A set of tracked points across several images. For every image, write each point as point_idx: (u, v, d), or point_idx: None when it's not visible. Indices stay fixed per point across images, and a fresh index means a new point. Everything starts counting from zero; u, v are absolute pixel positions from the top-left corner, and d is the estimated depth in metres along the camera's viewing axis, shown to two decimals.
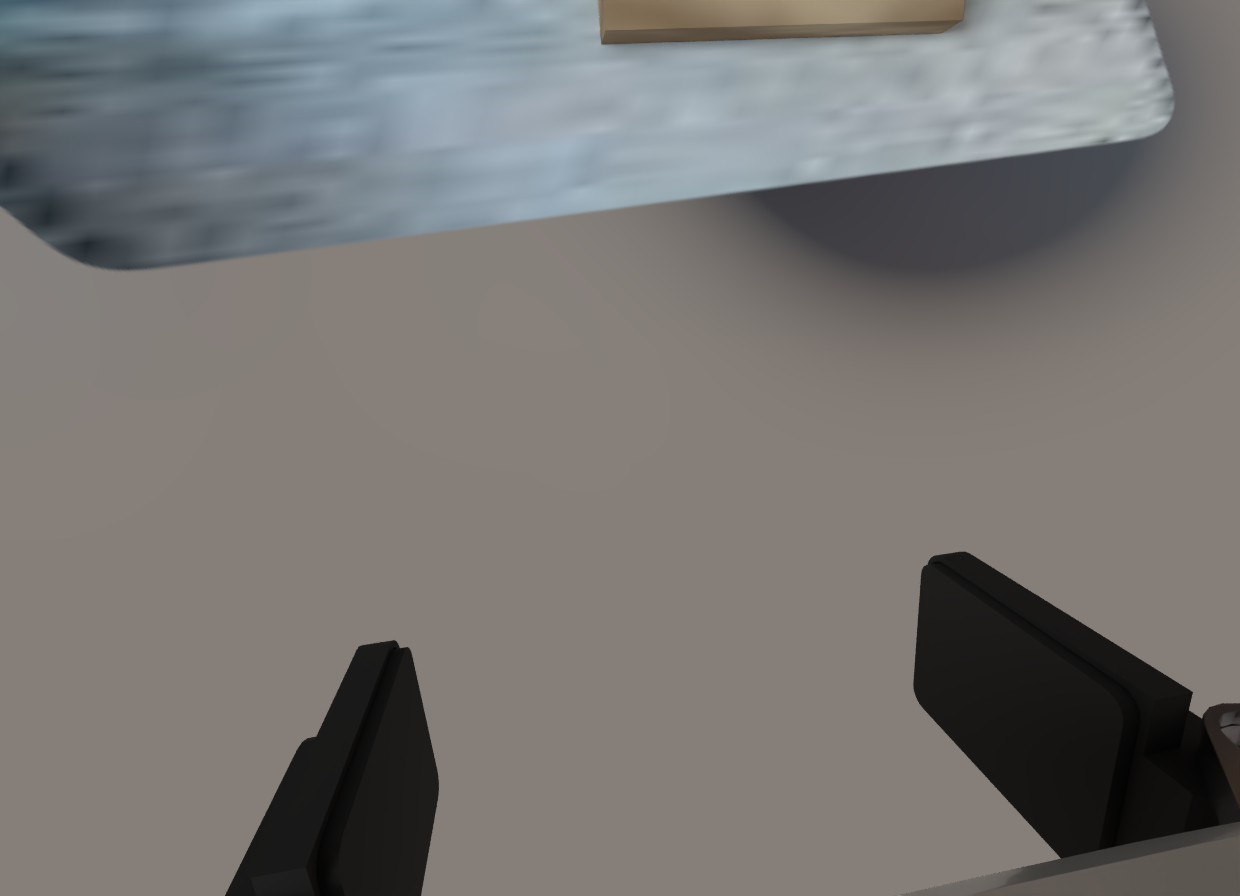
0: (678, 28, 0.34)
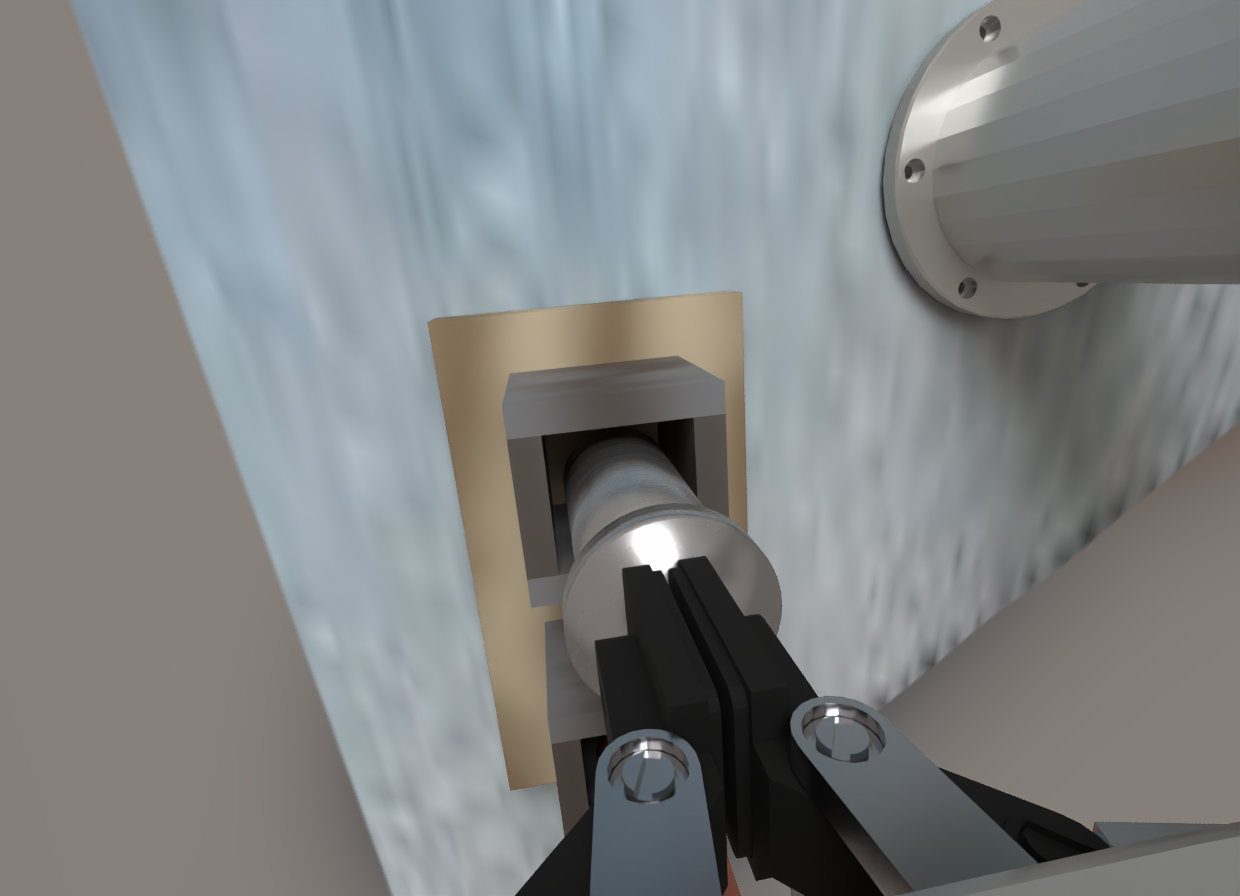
0: (447, 432, 0.23)
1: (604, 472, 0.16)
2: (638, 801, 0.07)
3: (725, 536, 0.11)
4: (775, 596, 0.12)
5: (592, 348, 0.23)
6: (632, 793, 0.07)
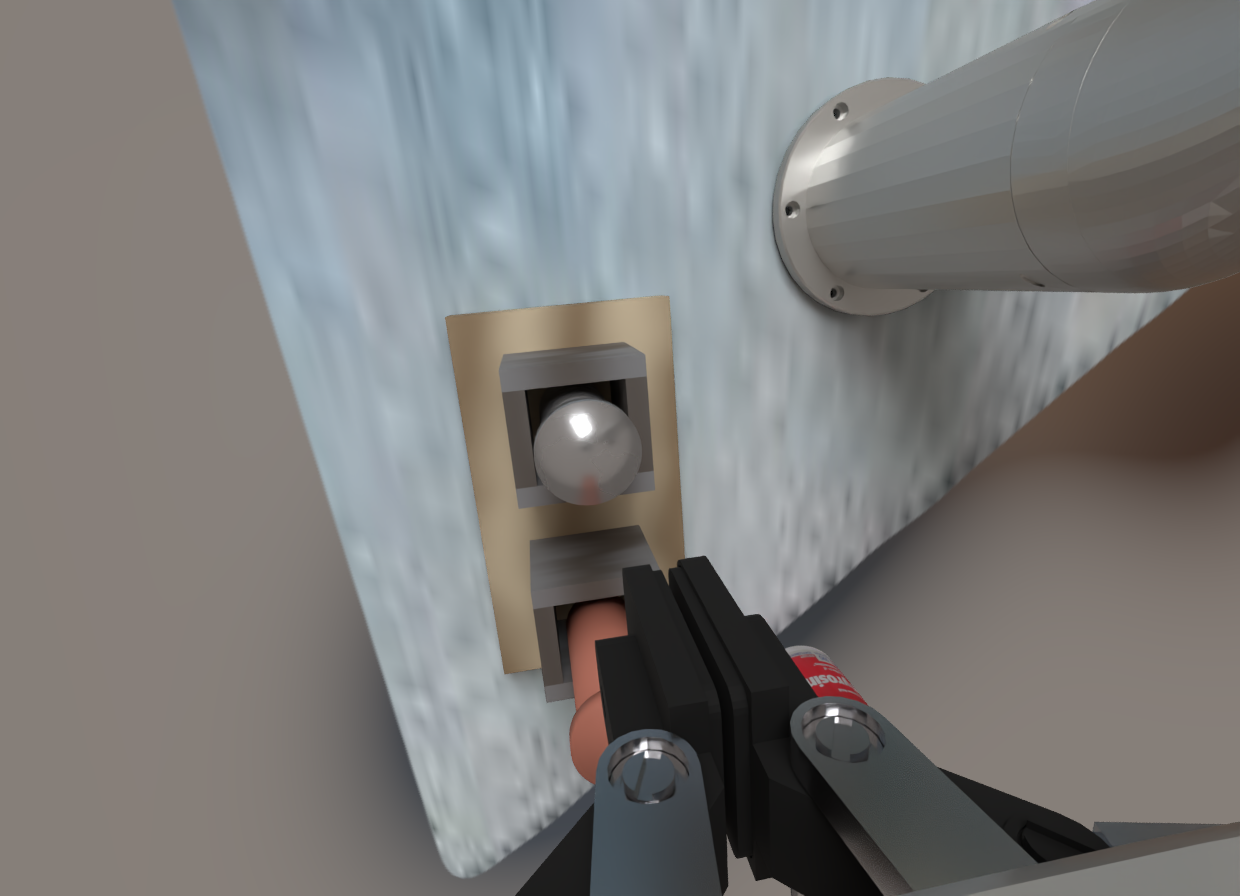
0: (458, 396, 0.32)
1: (559, 395, 0.28)
2: (638, 801, 0.07)
3: (611, 410, 0.23)
4: (638, 443, 0.24)
5: (562, 336, 0.32)
6: (632, 793, 0.07)
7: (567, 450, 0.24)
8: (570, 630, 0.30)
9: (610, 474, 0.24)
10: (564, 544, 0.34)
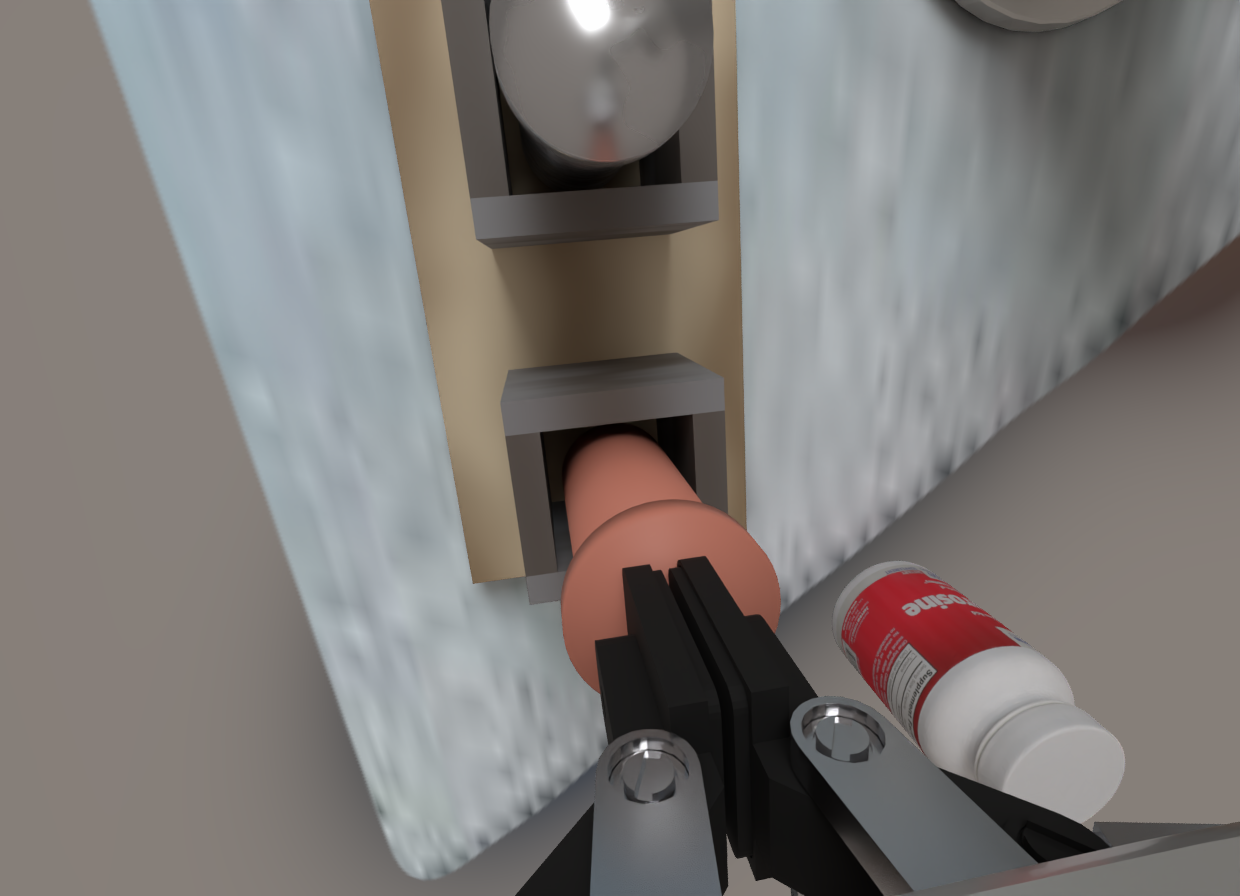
0: (389, 111, 0.20)
1: None
2: (638, 801, 0.07)
3: None
4: (706, 19, 0.12)
5: None
6: (632, 793, 0.07)
7: (560, 21, 0.11)
8: (568, 472, 0.18)
9: (648, 92, 0.12)
10: (561, 369, 0.21)
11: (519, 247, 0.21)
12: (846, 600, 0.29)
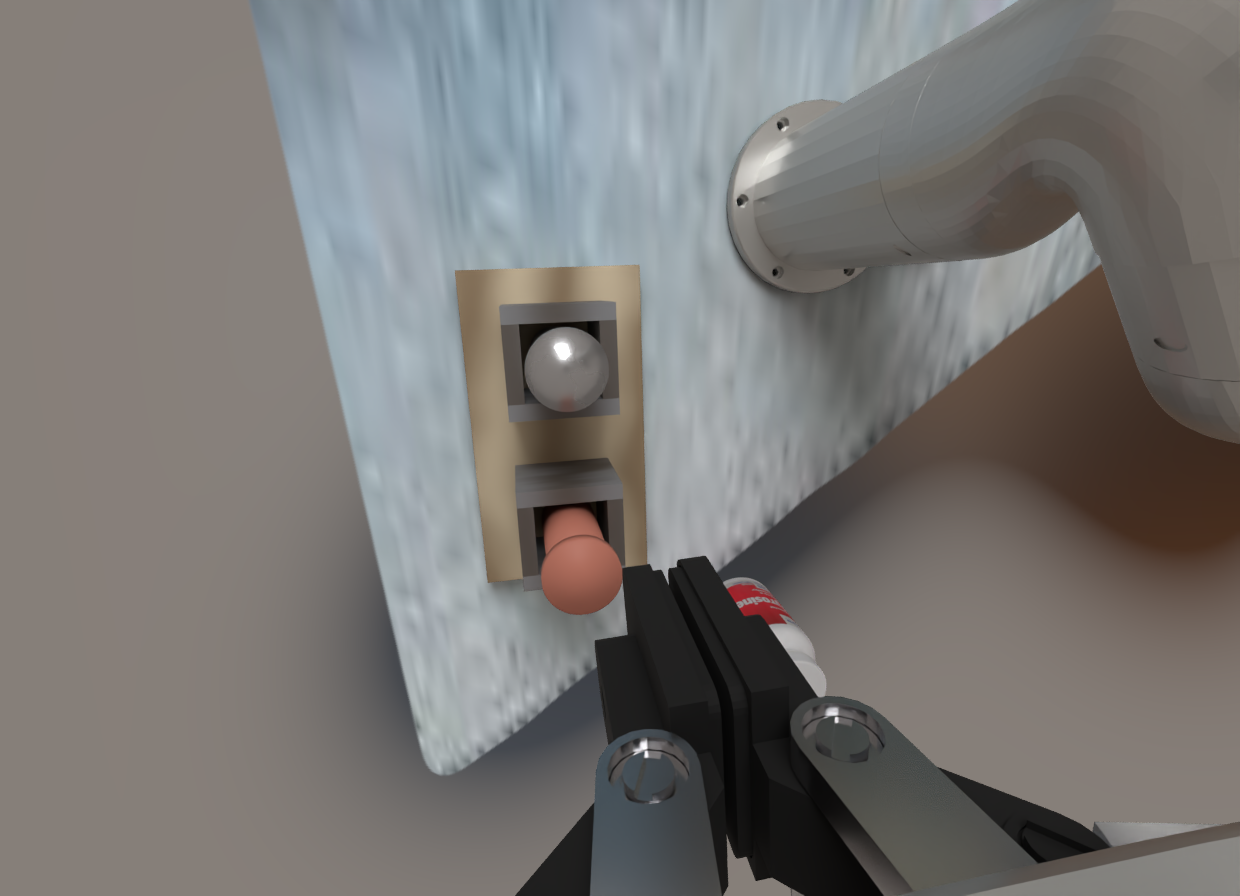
0: (462, 338, 0.38)
1: None
2: (639, 801, 0.07)
3: (586, 336, 0.30)
4: (606, 364, 0.31)
5: (550, 293, 0.39)
6: (633, 793, 0.07)
7: (551, 366, 0.30)
8: (544, 518, 0.38)
9: (583, 388, 0.31)
10: (544, 467, 0.40)
11: None
12: None
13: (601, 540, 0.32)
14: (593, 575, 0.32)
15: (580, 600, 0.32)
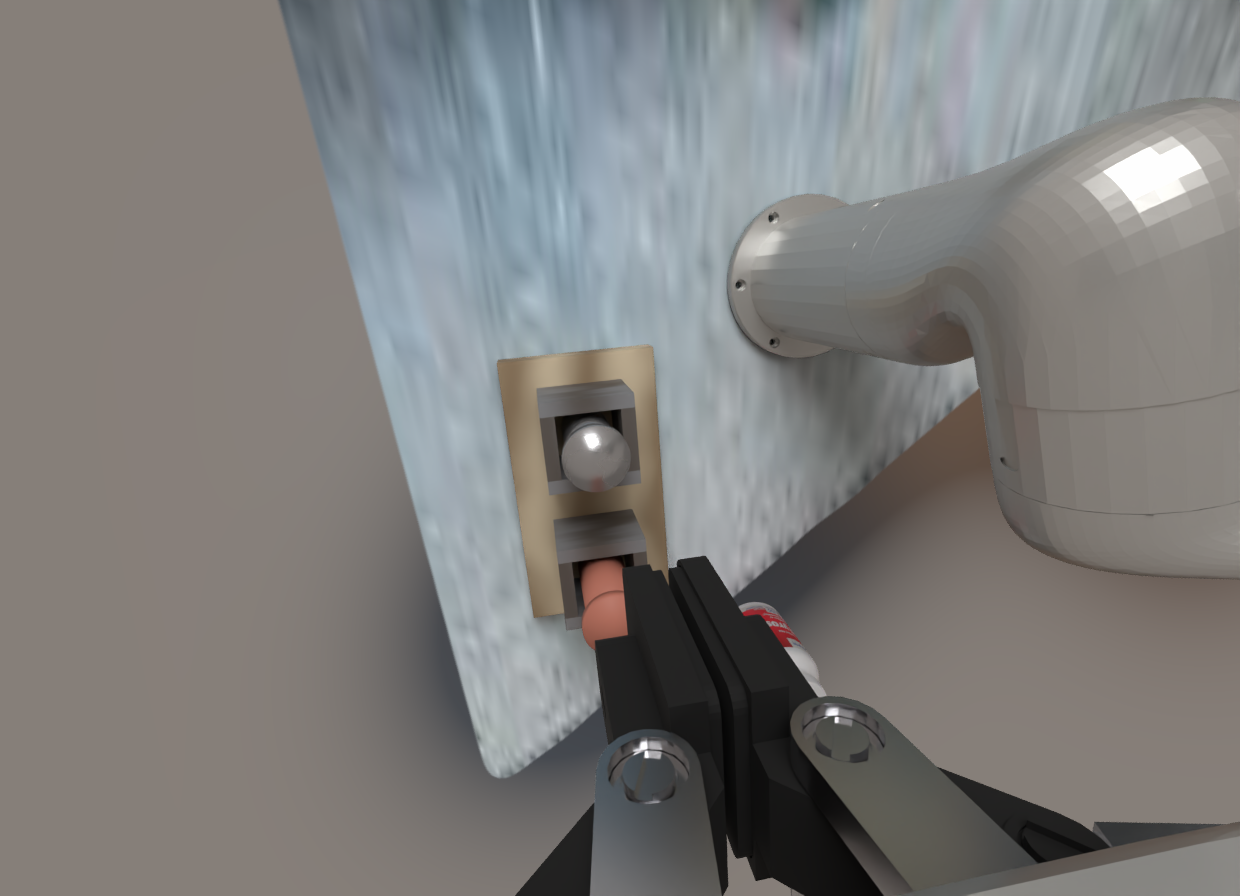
0: (505, 417, 0.45)
1: (577, 419, 0.41)
2: (639, 801, 0.07)
3: (611, 432, 0.37)
4: (628, 452, 0.37)
5: (577, 375, 0.45)
6: (633, 793, 0.07)
7: (583, 457, 0.37)
8: (581, 567, 0.45)
9: (610, 472, 0.38)
10: (578, 522, 0.47)
11: None
12: None
13: None
14: (624, 623, 0.39)
15: None
